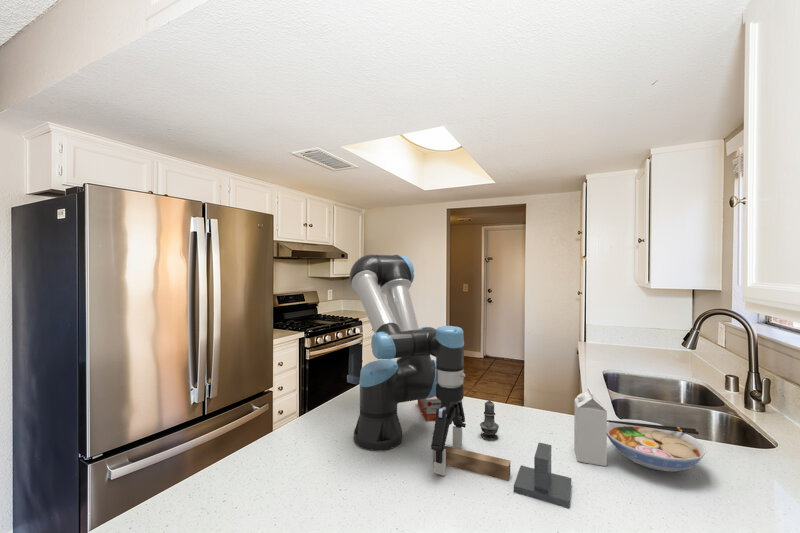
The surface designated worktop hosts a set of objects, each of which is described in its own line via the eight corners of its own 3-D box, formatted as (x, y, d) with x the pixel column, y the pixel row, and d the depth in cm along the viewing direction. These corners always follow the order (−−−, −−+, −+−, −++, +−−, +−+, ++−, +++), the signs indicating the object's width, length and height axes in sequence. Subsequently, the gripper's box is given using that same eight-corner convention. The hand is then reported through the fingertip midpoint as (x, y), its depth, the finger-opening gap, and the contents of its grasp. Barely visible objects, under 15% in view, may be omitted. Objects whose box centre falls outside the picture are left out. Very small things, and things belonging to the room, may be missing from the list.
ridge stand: (513, 491, 85) (513, 454, 85) (520, 470, 94) (520, 436, 94) (569, 508, 80) (569, 467, 80) (571, 484, 88) (571, 447, 88)
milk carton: (601, 454, 103) (601, 388, 103) (606, 467, 96) (607, 396, 96) (574, 449, 105) (574, 385, 105) (577, 462, 98) (577, 393, 98)
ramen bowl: (608, 477, 92) (608, 445, 92) (593, 437, 113) (593, 411, 113) (731, 499, 83) (731, 464, 83) (689, 451, 104) (689, 423, 104)
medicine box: (416, 405, 138) (417, 384, 138) (437, 404, 140) (437, 383, 140) (425, 422, 124) (425, 399, 124) (448, 420, 125) (448, 397, 125)
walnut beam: (433, 463, 98) (433, 448, 98) (436, 457, 101) (436, 443, 101) (508, 482, 90) (508, 466, 90) (510, 476, 92) (510, 460, 92)
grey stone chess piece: (499, 442, 109) (499, 402, 109) (479, 440, 111) (480, 401, 111) (498, 433, 115) (498, 396, 115) (479, 431, 116) (479, 394, 116)
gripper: (446, 401, 85) (445, 490, 85) (476, 373, 107) (475, 444, 107) (417, 395, 89) (417, 481, 89) (452, 370, 111) (451, 438, 111)
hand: (449, 461), depth 98 cm, fingers open, 13 cm apart
